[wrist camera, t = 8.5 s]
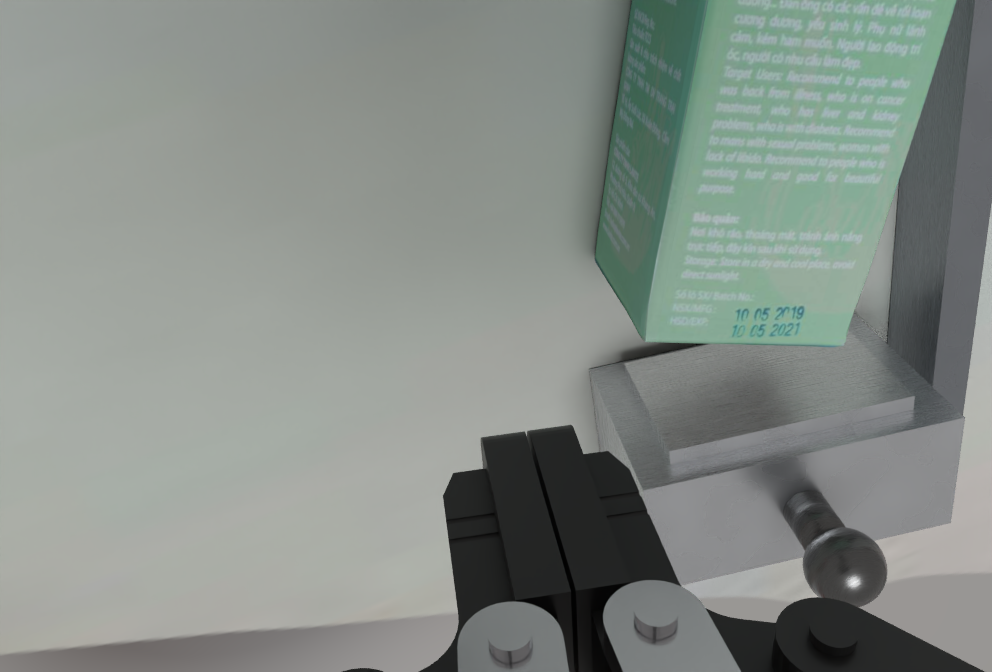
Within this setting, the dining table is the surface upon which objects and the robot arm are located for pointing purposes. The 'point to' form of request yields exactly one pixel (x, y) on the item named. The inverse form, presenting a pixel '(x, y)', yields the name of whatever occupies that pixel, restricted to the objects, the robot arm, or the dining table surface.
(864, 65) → the box
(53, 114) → the dining table surface
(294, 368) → the dining table surface
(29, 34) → the dining table surface
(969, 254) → the vise
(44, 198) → the dining table surface
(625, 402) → the sliding jaw
